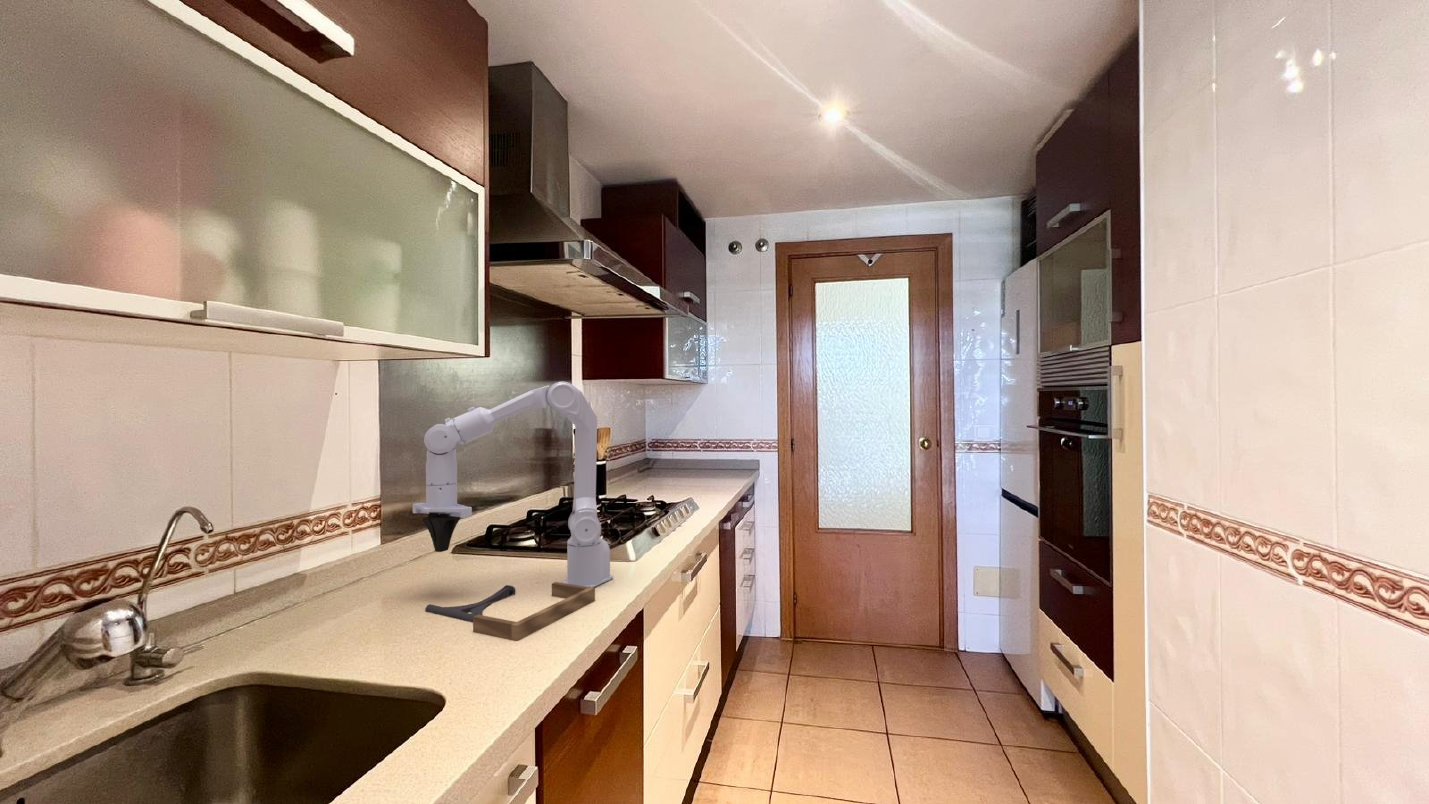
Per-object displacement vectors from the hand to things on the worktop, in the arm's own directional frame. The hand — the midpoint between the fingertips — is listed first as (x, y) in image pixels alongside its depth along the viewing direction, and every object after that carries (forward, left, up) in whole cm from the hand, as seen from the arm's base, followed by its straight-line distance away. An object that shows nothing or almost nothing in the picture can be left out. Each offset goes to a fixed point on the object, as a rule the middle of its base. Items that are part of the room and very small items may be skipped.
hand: (441, 550), depth 116 cm
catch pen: (0, +25, -9) cm, 27 cm away
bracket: (0, +12, -10) cm, 15 cm away
